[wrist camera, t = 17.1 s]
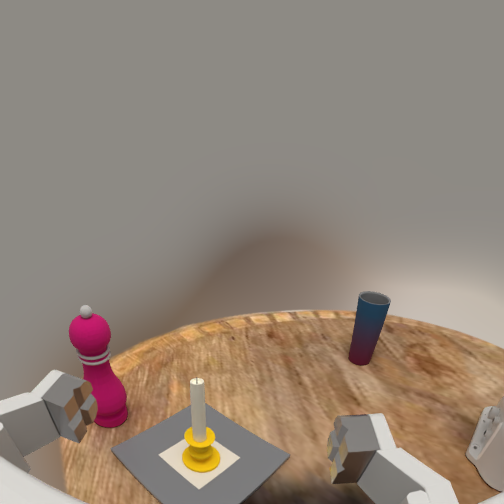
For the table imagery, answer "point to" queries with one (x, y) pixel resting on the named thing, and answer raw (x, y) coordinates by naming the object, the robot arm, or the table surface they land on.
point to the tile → (194, 483)
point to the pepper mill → (99, 366)
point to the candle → (199, 434)
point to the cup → (368, 326)
